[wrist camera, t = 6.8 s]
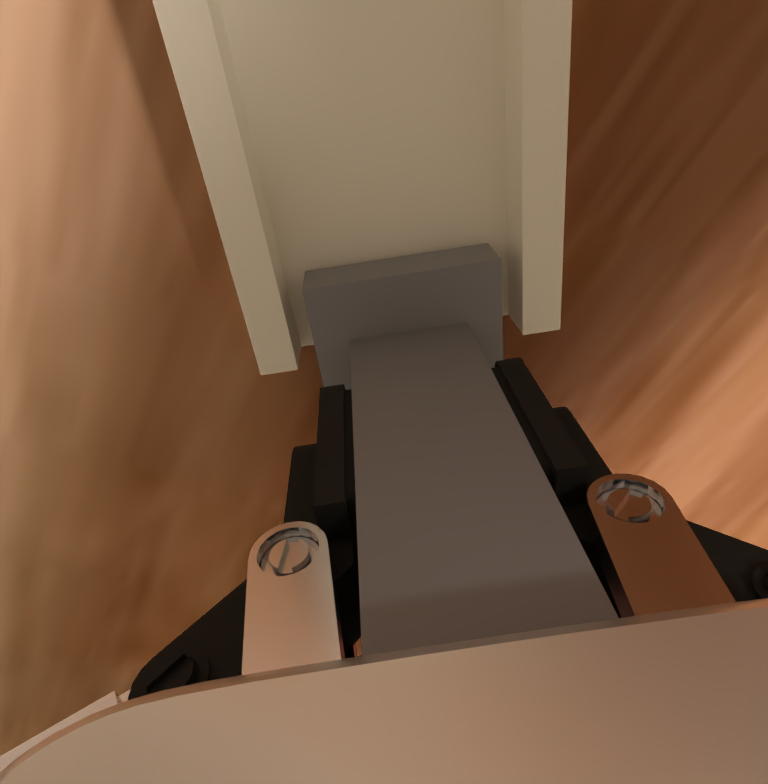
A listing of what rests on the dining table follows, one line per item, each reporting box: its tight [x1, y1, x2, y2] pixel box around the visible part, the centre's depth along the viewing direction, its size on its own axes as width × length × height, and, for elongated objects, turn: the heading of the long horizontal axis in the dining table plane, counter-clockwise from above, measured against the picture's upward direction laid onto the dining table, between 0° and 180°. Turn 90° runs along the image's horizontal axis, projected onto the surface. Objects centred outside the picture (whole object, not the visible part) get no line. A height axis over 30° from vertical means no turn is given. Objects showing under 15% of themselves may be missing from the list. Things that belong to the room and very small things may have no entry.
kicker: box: [302, 243, 619, 656], centre depth 13 cm, size 5×12×10 cm, turn 8°
